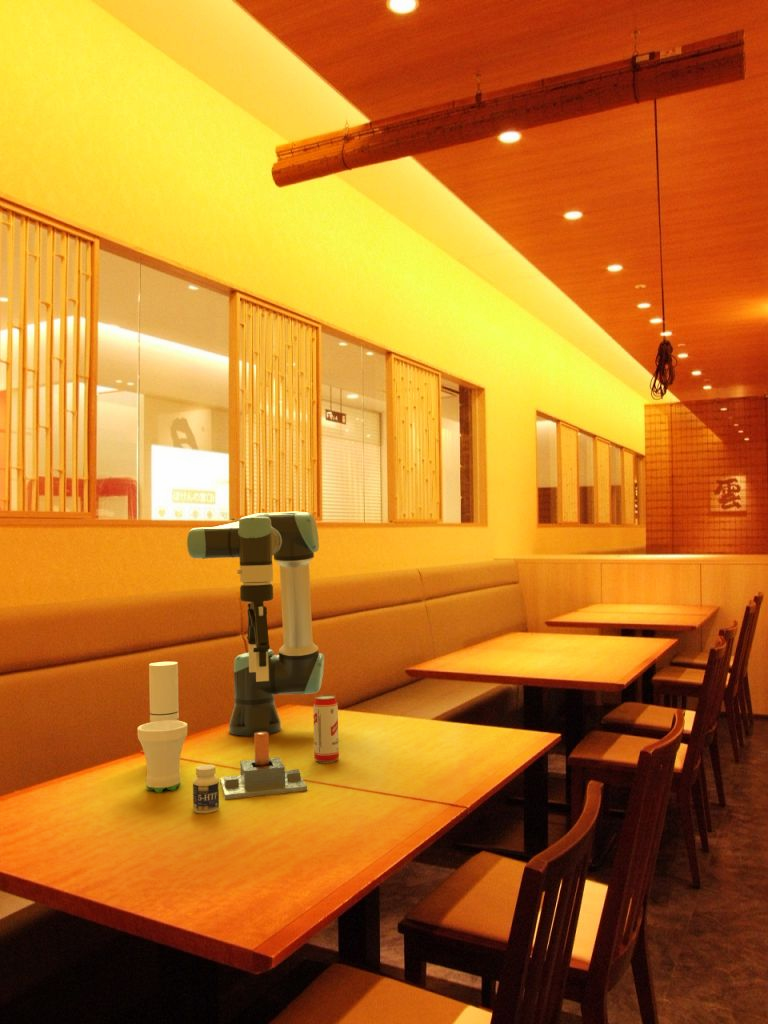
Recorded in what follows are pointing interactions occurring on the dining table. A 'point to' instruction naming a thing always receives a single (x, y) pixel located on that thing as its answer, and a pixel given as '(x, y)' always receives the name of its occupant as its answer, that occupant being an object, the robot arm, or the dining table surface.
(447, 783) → the dining table surface
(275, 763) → the grey socket base
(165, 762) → the cup
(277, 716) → the robot arm
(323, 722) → the beer can
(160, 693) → the cylindrical container
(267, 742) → the rounded pin
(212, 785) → the pill bottle
